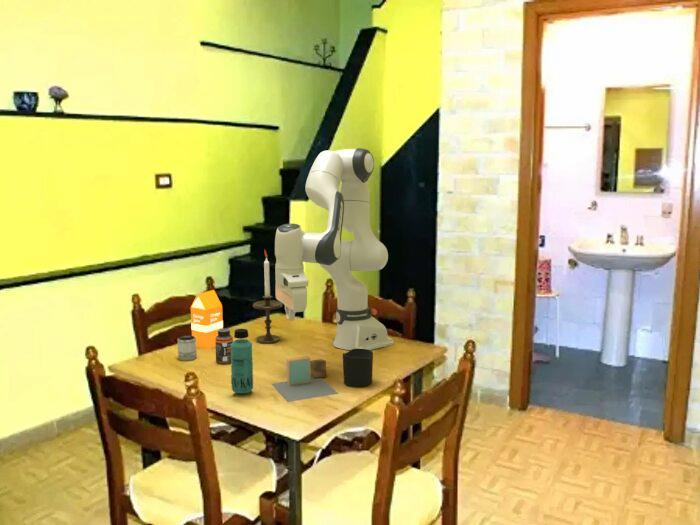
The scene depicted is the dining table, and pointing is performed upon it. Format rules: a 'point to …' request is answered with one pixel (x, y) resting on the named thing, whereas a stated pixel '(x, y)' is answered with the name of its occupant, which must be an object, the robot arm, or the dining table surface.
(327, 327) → the dining table surface
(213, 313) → the orange juice
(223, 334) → the supplement bottle
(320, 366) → the block
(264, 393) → the dining table surface
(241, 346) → the beverage bottle
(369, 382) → the pen holder
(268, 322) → the candlestick
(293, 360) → the tile
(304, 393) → the mat
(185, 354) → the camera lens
